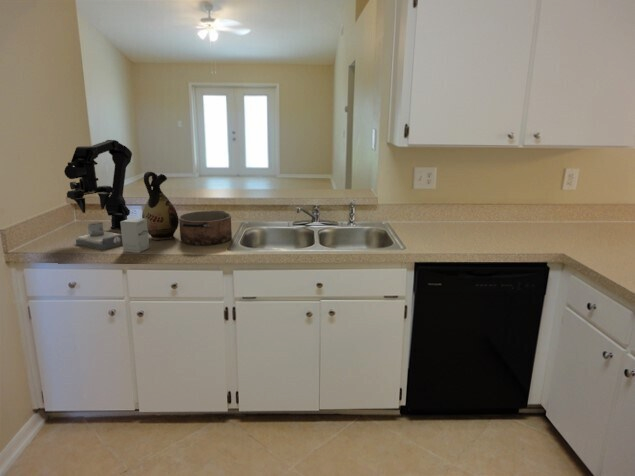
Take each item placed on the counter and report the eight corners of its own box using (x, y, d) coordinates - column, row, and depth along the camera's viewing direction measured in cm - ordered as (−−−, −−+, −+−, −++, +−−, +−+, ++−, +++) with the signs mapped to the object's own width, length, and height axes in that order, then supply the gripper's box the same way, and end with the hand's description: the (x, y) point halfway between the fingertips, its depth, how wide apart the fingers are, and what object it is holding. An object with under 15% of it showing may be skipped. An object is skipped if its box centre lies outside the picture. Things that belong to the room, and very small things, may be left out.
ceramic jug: (159, 232, 199) (153, 168, 192) (186, 235, 194) (182, 170, 187) (133, 241, 184) (126, 172, 176) (162, 244, 179) (156, 174, 171)
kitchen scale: (105, 236, 190) (104, 228, 189) (131, 242, 182) (131, 233, 181) (76, 244, 178) (75, 235, 177) (102, 250, 170) (101, 240, 169)
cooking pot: (216, 250, 173) (215, 224, 170) (166, 246, 176) (164, 222, 174) (241, 232, 201) (240, 210, 199) (198, 230, 205) (196, 208, 202)
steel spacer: (98, 232, 185) (96, 221, 183) (106, 234, 182) (105, 223, 181) (86, 235, 180) (85, 224, 179) (95, 237, 178) (93, 225, 176)
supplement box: (139, 253, 167) (136, 222, 164) (122, 251, 168) (119, 221, 165) (150, 248, 174) (147, 218, 171) (134, 246, 175) (131, 217, 172)
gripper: (95, 172, 194) (100, 205, 199) (55, 177, 178) (61, 213, 183) (111, 174, 190) (116, 207, 194) (72, 179, 174) (78, 215, 178)
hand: (93, 211), depth 187 cm, fingers open, 9 cm apart
